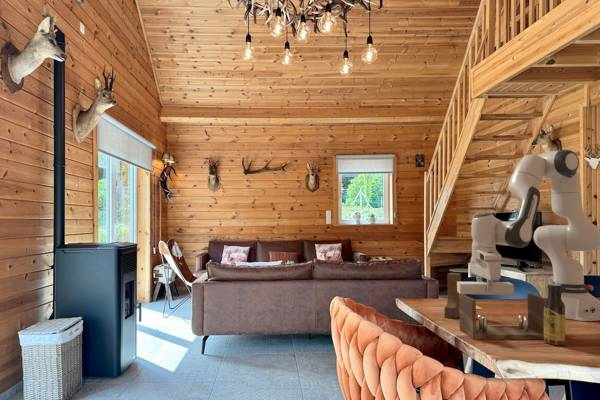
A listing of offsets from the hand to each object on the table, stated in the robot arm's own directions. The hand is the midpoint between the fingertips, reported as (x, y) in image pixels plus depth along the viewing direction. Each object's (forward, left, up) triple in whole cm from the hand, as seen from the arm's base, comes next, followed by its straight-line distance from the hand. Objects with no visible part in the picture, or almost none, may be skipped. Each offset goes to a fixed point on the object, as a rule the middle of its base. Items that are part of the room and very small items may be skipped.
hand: (484, 288), depth 168 cm
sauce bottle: (-12, +26, -14) cm, 32 cm away
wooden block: (+8, -13, -14) cm, 21 cm away
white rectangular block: (0, 0, -2) cm, 2 cm away
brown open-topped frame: (0, +15, -14) cm, 21 cm away
